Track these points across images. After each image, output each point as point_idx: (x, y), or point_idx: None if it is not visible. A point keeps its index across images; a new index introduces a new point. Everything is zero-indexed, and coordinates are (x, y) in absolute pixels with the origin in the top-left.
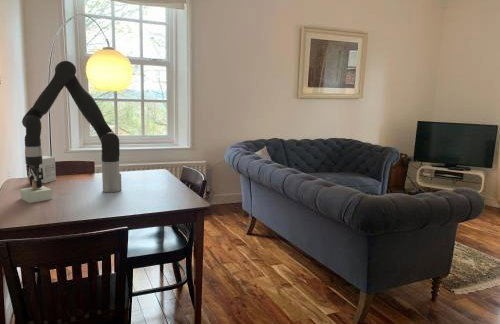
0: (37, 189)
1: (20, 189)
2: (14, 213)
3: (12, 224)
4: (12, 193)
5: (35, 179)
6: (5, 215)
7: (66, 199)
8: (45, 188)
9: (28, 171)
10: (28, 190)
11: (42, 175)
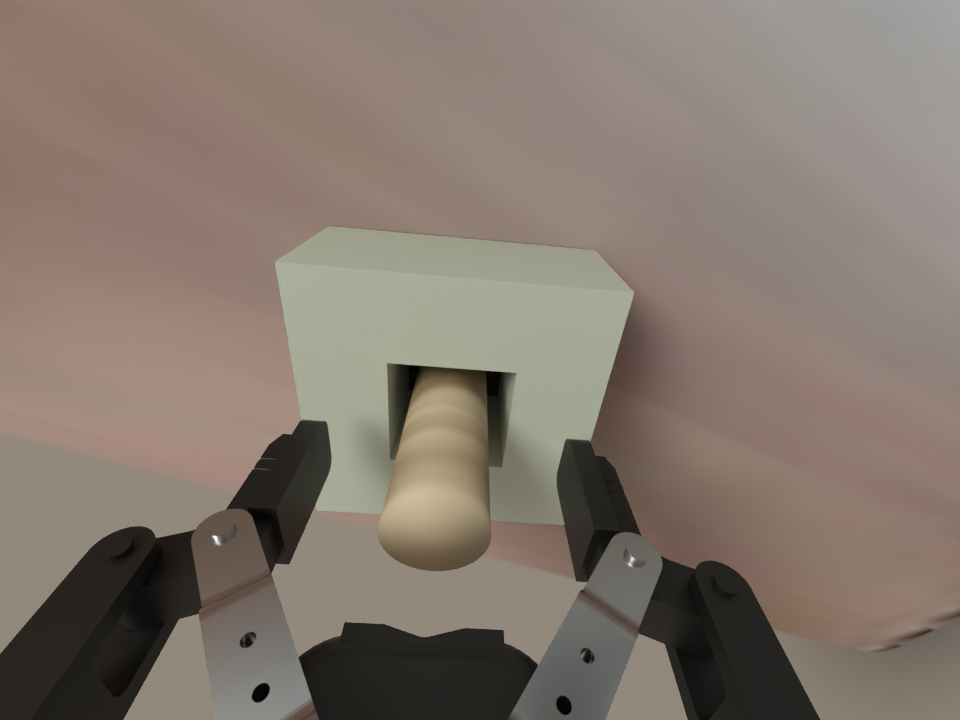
0: (487, 420)
1: (328, 509)
2: None
3: (867, 629)
4: (79, 405)
5: (403, 524)
6: None
7: (773, 133)
8: (493, 321)
9: (121, 712)
10: None
11: (785, 676)
